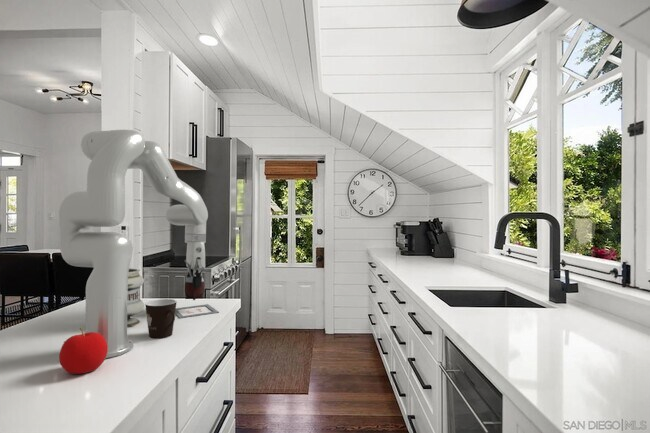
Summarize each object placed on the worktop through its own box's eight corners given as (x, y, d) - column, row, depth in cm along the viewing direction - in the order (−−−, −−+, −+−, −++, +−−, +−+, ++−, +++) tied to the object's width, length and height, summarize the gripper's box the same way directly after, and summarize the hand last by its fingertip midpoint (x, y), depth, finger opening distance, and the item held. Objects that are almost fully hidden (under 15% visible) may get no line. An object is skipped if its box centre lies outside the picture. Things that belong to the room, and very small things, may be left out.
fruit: (99, 359, 88) (100, 319, 88) (113, 369, 82) (114, 326, 82) (54, 371, 81) (54, 328, 81) (65, 383, 75) (66, 336, 75)
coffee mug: (145, 332, 108) (145, 300, 108) (175, 329, 112) (176, 298, 112) (143, 345, 98) (144, 309, 98) (177, 341, 101) (177, 306, 101)
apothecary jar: (111, 332, 108) (112, 274, 108) (95, 324, 115) (96, 270, 115) (150, 323, 118) (151, 269, 118) (133, 317, 125) (134, 266, 125)
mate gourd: (203, 296, 137) (205, 257, 138) (204, 300, 130) (205, 259, 130) (183, 297, 135) (184, 258, 135) (182, 301, 127) (184, 260, 128)
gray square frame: (179, 318, 124) (179, 317, 124) (171, 309, 135) (171, 308, 135) (218, 312, 132) (218, 311, 132) (207, 304, 143) (207, 304, 143)
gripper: (212, 239, 128) (211, 288, 128) (199, 237, 143) (198, 281, 142) (191, 239, 124) (189, 290, 124) (179, 238, 138) (178, 283, 138)
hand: (194, 285), depth 133 cm, fingers closed on mate gourd, 7 cm apart
